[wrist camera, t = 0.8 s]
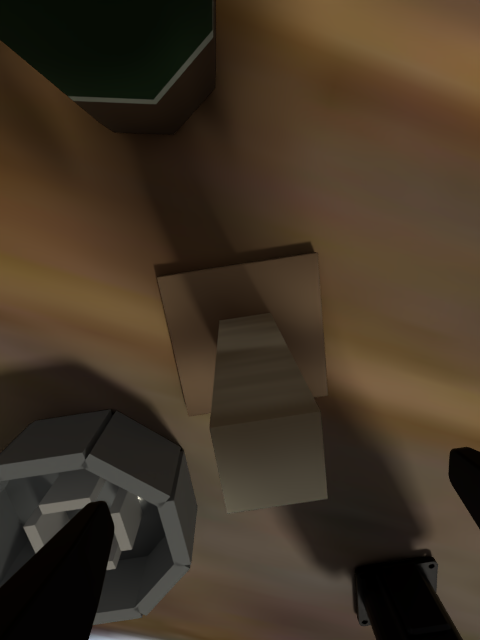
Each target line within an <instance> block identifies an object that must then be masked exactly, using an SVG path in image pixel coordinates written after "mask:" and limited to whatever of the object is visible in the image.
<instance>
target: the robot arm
mask: <svg viewBox="0 0 480 640" xmlns="http://www.w3.org/2000/svg"><path fill="white" fill-rule="evenodd" d="M449 479H450V482H451V484H452V486H453V487H454V489H455V491H456V492H457V494H458V495H459V497H460V499H461V500H462V502H463V503H464V505H465V507H466V508H467V510H468V511H469V513H470V514H471V516H472V518H473V519H474V521H475V522H476V524H477V526H478V527H479V529H480V452H479V451H476V450H474V449H472V448H469V447H462V448H455V449H452V450H451V451H450V457H449ZM114 530H115V527H114V522H113V519H112V516H111V513H110V510H109V507H108V505H107V503H106V502H105V501H96V502H90V503H88V504H87V505H86V506H84V507H83V508H82V509H81V510H80V511H79V512H78V513H77V514H76V515H75V516H74V517H73V518H72V519H71V520H70V521H69V522H68V523H67V524H66V525H65V526H64V527H63V528H62V529H60V530H59V531H58V532H57V533H56V534H55V535H54V536H53V537H52V538H51V539H50V540H49V541H48V542H47V543H46V544H45V545H44V546H43V547H42V548H41V549H40V550H39V551H38V552H37V553H36V554H34V555H33V556H32V557H31V558H30V559H29V560H28V561H27V562H26V563H25V564H24V565H23V566H22V567H21V568H20V569H19V570H18V571H17V572H16V573H15V574H14V575H13V576H12V577H11V578H10V579H8V580H7V581H6V582H5V583H4V584H3V585H2V586H1V587H0V640H88V639H89V636H90V632H91V629H92V626H93V623H94V619H95V616H96V612H97V609H98V605H99V601H100V597H101V593H102V588H103V583H104V579H105V574H106V569H107V565H108V560H109V556H110V551H111V546H112V542H113V537H114ZM437 570H438V564H437V562H436V561H435V559H434V558H433V557H422V558H415V559H409V560H402V561H395V562H388V563H382V564H375V565H368V566H361V567H358V568H356V570H355V586H356V605H357V618H358V621H359V624H360V625H361V626H368V625H371V626H372V629H373V632H374V635H375V637H376V640H463V639H462V637H461V635H460V634H459V632H458V630H457V628H456V627H455V625H454V623H453V621H452V620H451V618H450V616H449V614H448V613H447V611H446V609H445V608H444V606H443V604H442V602H441V601H440V599H439V597H438V595H437V594H436V588H437Z"/></svg>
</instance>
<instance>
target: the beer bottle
mask: <svg viewBox="0 0 480 640" xmlns="http://www.w3.org/2000/svg"><path fill="white" fill-rule="evenodd" d="M0 40H1V41H2V42H3V43H5V44H6V45H7V46H8V47H9V48H11V49H12V50H13V51H14V52H15V53H17V54H18V55H19V56H20V57H21V58H23V59H24V60H25V61H26V62H27V63H29V64H30V65H31V66H32V67H33V68H35V69H36V70H37V71H38V72H39V73H41V74H42V75H43V76H44V77H45V78H47V79H48V80H49V81H50V82H51V83H53V84H54V85H55V86H56V87H57V88H59V89H60V90H61V91H62V92H63V93H65V94H66V95H67V96H68V97H69V98H71V99H72V100H73V101H74V102H75V103H77V104H78V105H79V106H80V107H81V108H83V109H84V110H85V111H86V112H87V113H89V114H90V115H91V116H92V117H93V118H95V119H96V120H97V121H98V122H99V123H101V124H102V125H104V126H106V127H107V128H109V129H110V130H112V131H113V132H119V133H146V134H173V135H174V134H175V133H176V131H177V130H178V129H179V128H180V127H181V126H182V125H183V124H184V122H185V121H186V120H187V119H188V118H189V117H190V116H191V115H192V113H193V112H194V111H195V110H196V109H197V108H198V107H199V105H200V104H201V103H202V102H203V101H204V100H205V99H206V98H207V96H208V95H209V94H210V93H211V92H212V91H213V90H214V89H215V77H216V0H0Z"/></svg>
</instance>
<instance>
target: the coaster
mask: <svg viewBox="0 0 480 640" xmlns="http://www.w3.org/2000/svg"><path fill="white" fill-rule="evenodd" d="M157 280H158V284H159V288H160V293H161V297H162V302H163V306H164V310H165V315H166V319H167V324H168V328H169V332H170V337H171V341H172V346H173V350H174V354H175V359H176V363H177V368H178V372H179V376H180V381H181V385H182V389H183V394H184V398H185V403H186V407H187V411H188V416H195V415H202V414H208V413H211V406H212V396H213V385H214V374H215V363H216V353H217V342H218V331H219V321H220V320H227V319H234V318H240V317H247V316H253V315H260V314H266V313H271V315H272V317H273V319H274V321H275V323H276V325H277V327H278V329H279V331H280V333H281V335H282V336H283V338H284V340H285V342H286V344H287V346H288V348H289V350H290V352H291V354H292V356H293V358H294V360H295V362H296V364H297V366H298V368H299V370H300V372H301V374H302V376H303V378H304V380H305V382H306V383H307V385H308V387H309V389H310V391H311V393H312V395H313V397H314V398H315V397H321V396H328V388H327V375H326V361H325V347H324V333H323V319H322V305H321V291H320V277H319V263H318V253H316V252H313V253H306V254H300V255H293V256H287V257H280V258H274V259H267V260H260V261H254V262H247V263H241V264H234V265H228V266H221V267H215V268H208V269H202V270H195V271H189V272H182V273H176V274H169V275H163V276H159V277H157Z"/></svg>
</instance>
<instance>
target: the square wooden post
mask: <svg viewBox="0 0 480 640" xmlns="http://www.w3.org/2000/svg"><path fill="white" fill-rule="evenodd" d="M210 433H211V438H212V443H213V447H214V452H215V457H216V462H217V467H218V472H219V476H220V481H221V486H222V491H223V496H224V501H225V505H226V510H227V514H230V513H236V512H243V511H250V510H257V509H263V508H270V507H277V506H283V505H290V504H297V503H304V502H310V501H317V500H324V499H328V495H327V483H326V470H325V458H324V446H323V433H322V421H321V411H320V409H319V407H318V405H317V403H316V401H315V399H314V397H313V395H312V393H311V391H310V389H309V387H308V385H307V383H306V382H305V380H304V378H303V376H302V374H301V372H300V370H299V368H298V366H297V364H296V362H295V360H294V358H293V356H292V354H291V352H290V350H289V348H288V346H287V344H286V342H285V340H284V338H283V336H282V335H281V333H280V331H279V329H278V327H277V325H276V323H275V321H274V319H273V317H272V315H271V313H266V314H260V315H253V316H247V317H240V318H234V319H227V320H220V321H219V331H218V342H217V353H216V363H215V374H214V385H213V396H212V406H211V417H210Z"/></svg>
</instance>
